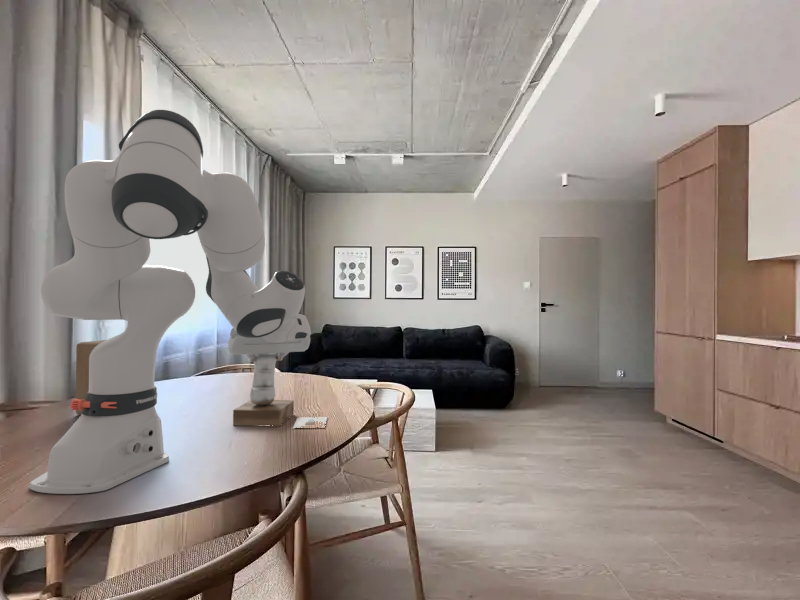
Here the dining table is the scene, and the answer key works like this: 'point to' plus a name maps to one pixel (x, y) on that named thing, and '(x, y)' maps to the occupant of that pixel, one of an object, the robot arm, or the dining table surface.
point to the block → (83, 368)
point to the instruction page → (308, 421)
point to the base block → (263, 413)
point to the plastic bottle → (263, 379)
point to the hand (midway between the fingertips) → (265, 359)
